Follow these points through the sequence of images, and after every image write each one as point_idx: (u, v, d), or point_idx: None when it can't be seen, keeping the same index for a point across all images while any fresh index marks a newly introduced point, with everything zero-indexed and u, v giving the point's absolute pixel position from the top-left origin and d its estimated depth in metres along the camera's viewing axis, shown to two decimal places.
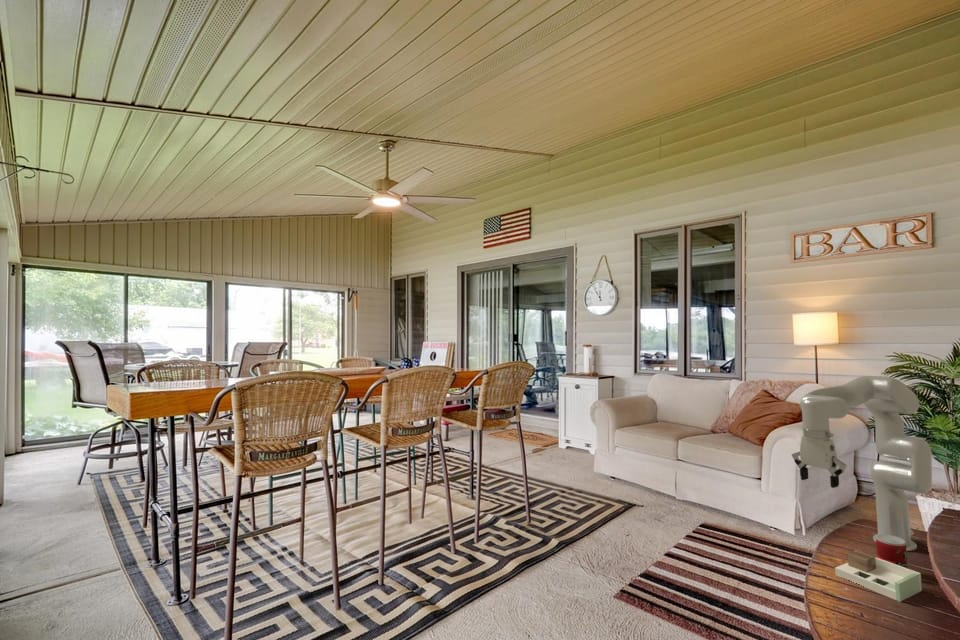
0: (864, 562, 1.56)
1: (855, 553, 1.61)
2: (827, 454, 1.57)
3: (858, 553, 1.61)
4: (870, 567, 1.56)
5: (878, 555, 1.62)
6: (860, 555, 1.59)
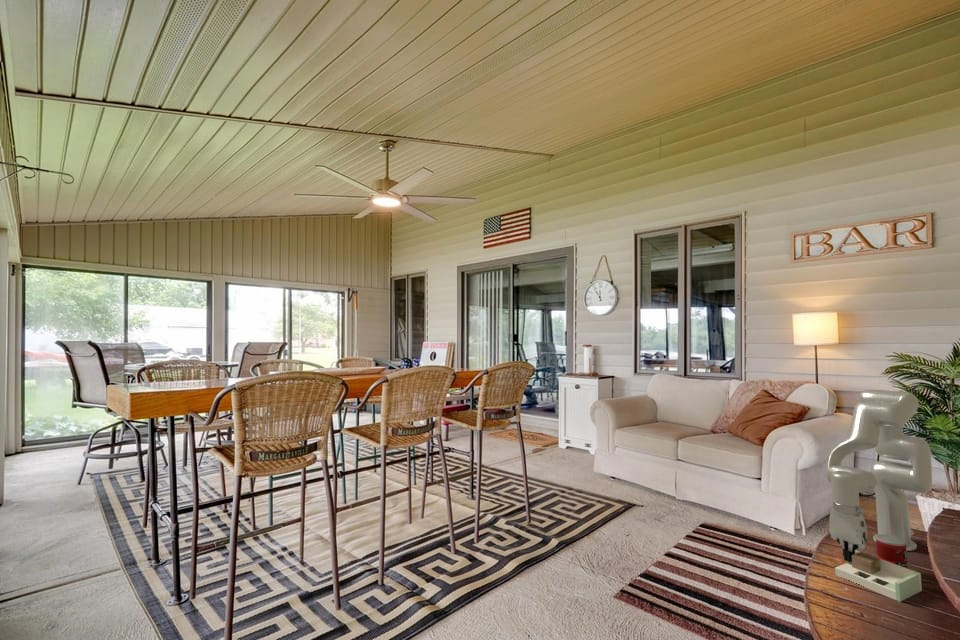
0: (868, 563, 1.55)
1: (860, 555, 1.59)
2: (858, 530, 1.58)
3: (862, 555, 1.59)
4: (874, 569, 1.55)
5: (878, 555, 1.62)
6: (864, 557, 1.57)
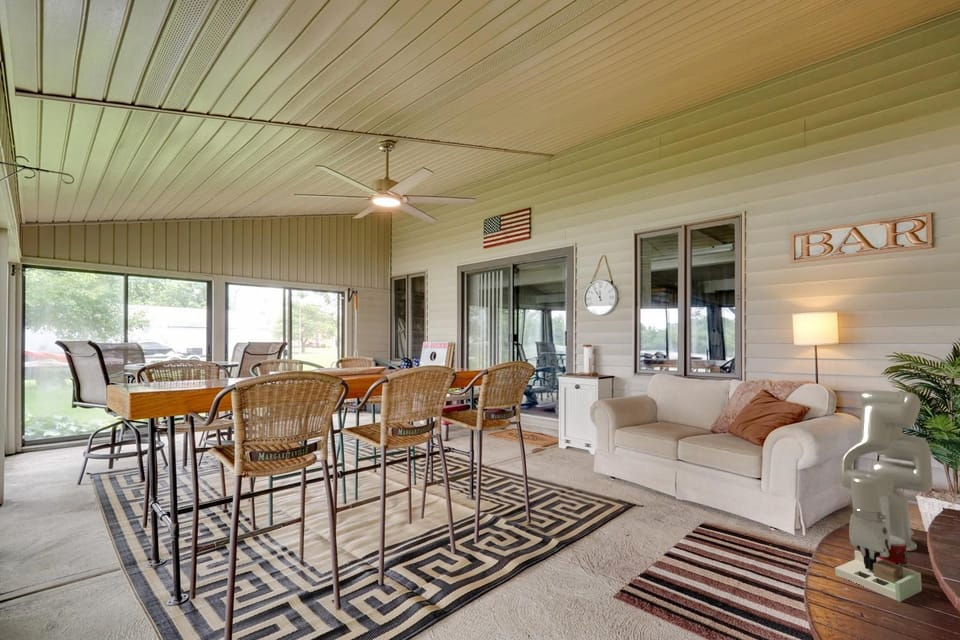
0: (891, 572, 1.49)
1: (881, 563, 1.53)
2: (880, 537, 1.52)
3: (884, 563, 1.53)
4: (897, 578, 1.49)
5: None
6: (886, 565, 1.52)
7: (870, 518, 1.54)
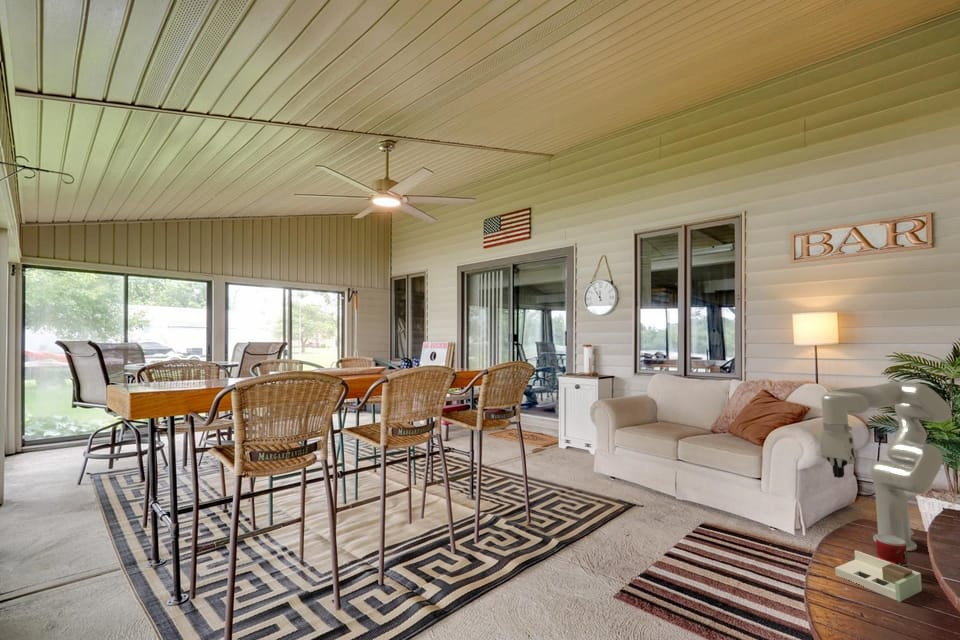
0: (901, 576, 1.46)
1: (891, 566, 1.51)
2: (846, 446, 1.69)
3: (893, 566, 1.51)
4: None
5: (878, 555, 1.62)
6: (896, 569, 1.49)
7: (838, 430, 1.70)
